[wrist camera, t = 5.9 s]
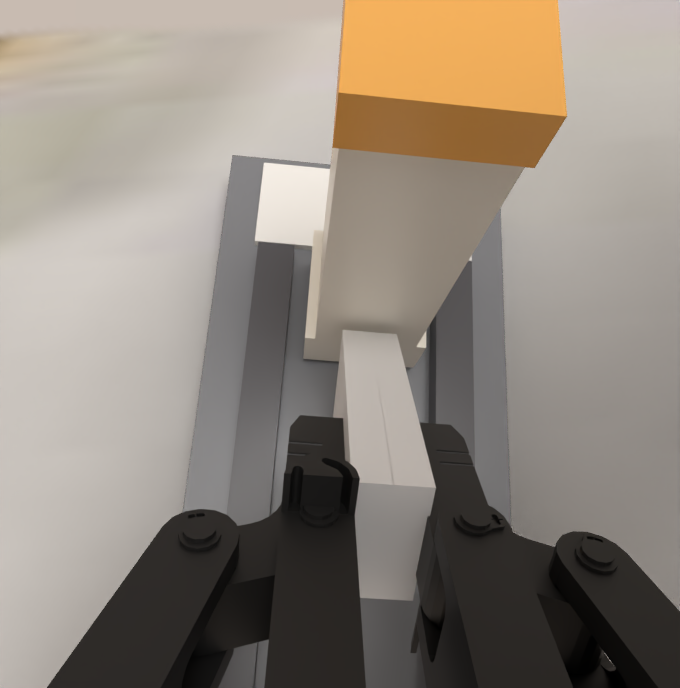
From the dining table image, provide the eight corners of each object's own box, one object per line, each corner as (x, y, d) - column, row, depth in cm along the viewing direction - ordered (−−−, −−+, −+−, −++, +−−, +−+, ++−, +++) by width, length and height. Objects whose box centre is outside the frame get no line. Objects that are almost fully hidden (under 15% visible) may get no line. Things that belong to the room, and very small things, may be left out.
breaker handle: (415, 265, 21) (564, -76, 10) (413, 370, 20) (580, 117, 9) (311, 256, 21) (340, -104, 10) (302, 361, 20) (323, 90, 8)
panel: (483, 209, 25) (508, 165, 22) (505, 1164, 16) (553, 1297, 13) (236, 186, 24) (230, 137, 22) (106, 1161, 15) (64, 1300, 12)
